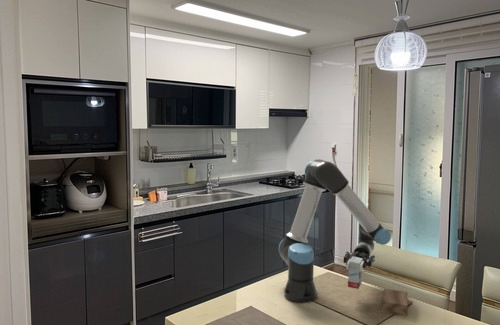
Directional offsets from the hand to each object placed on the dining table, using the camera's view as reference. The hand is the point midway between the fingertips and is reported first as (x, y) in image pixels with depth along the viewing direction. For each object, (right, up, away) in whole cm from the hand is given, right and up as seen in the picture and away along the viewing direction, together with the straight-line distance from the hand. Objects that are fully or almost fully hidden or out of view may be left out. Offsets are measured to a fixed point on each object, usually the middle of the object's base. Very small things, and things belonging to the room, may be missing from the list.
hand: (353, 267), depth 169 cm
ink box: (+2, -10, +6) cm, 11 cm away
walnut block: (+18, -18, 0) cm, 25 cm away
